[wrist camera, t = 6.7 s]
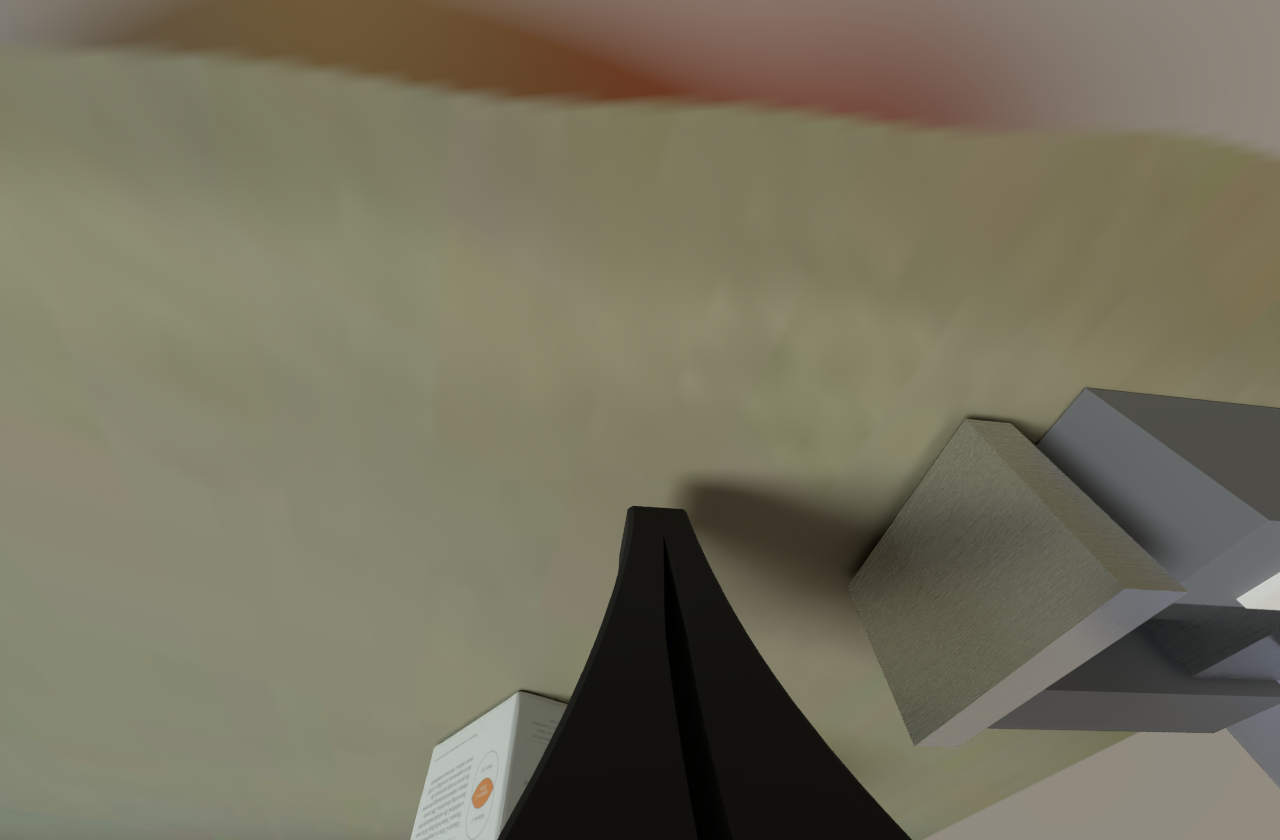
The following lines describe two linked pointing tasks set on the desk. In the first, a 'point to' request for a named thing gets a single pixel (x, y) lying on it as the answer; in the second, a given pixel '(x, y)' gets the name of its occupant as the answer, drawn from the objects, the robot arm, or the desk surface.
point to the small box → (485, 770)
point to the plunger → (1023, 592)
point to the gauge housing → (1170, 550)
